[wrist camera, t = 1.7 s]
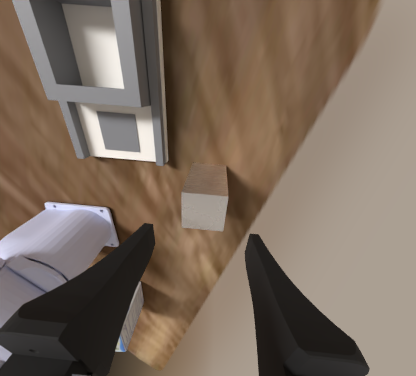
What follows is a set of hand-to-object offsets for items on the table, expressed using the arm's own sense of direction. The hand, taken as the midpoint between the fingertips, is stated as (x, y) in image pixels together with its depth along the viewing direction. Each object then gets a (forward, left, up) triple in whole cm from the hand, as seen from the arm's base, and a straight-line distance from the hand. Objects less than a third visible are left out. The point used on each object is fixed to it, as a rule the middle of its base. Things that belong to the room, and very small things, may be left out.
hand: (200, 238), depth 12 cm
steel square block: (0, 0, -10) cm, 10 cm away
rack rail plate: (-10, +12, -10) cm, 19 cm away
